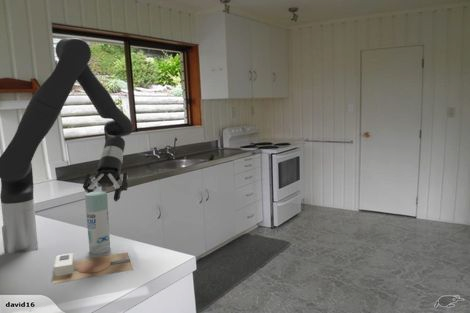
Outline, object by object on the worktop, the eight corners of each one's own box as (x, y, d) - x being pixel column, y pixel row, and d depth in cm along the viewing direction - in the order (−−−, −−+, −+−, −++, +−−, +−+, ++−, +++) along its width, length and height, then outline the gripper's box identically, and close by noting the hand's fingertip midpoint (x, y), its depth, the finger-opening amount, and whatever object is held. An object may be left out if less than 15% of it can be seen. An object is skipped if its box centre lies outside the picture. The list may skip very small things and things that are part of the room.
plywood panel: (53, 289, 91) (52, 283, 91) (57, 268, 104) (57, 262, 104) (133, 274, 99) (133, 268, 99) (128, 256, 112) (127, 251, 112)
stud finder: (72, 273, 97) (72, 263, 97) (54, 276, 95) (54, 266, 95) (73, 261, 105) (73, 252, 105) (57, 264, 104) (56, 255, 103)
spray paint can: (114, 253, 115) (110, 192, 112) (95, 260, 110) (90, 196, 107) (104, 248, 119) (100, 190, 117) (85, 254, 114) (81, 193, 112)
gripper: (87, 155, 124) (76, 195, 114) (128, 154, 124) (121, 193, 114) (94, 168, 130) (84, 207, 120) (133, 167, 130) (126, 205, 120)
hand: (102, 200), depth 117 cm, fingers open, 8 cm apart
